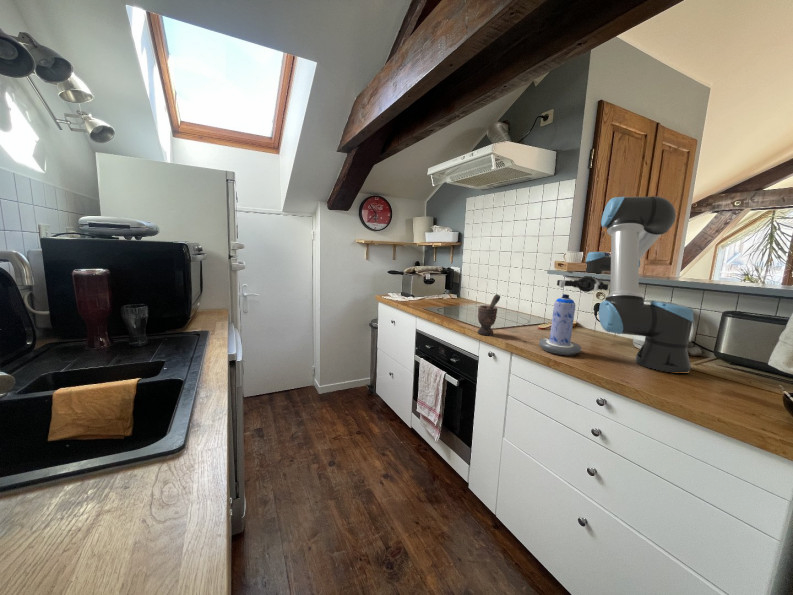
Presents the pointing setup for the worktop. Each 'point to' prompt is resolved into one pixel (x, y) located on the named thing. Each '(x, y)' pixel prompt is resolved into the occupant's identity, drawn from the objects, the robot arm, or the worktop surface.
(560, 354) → the turntable base
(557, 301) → the aerosol can
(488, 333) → the mortar and pestle
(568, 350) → the disc
